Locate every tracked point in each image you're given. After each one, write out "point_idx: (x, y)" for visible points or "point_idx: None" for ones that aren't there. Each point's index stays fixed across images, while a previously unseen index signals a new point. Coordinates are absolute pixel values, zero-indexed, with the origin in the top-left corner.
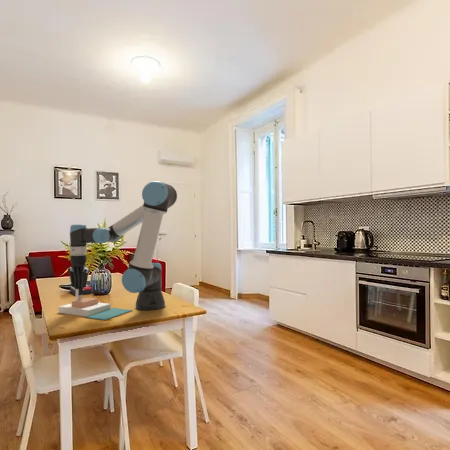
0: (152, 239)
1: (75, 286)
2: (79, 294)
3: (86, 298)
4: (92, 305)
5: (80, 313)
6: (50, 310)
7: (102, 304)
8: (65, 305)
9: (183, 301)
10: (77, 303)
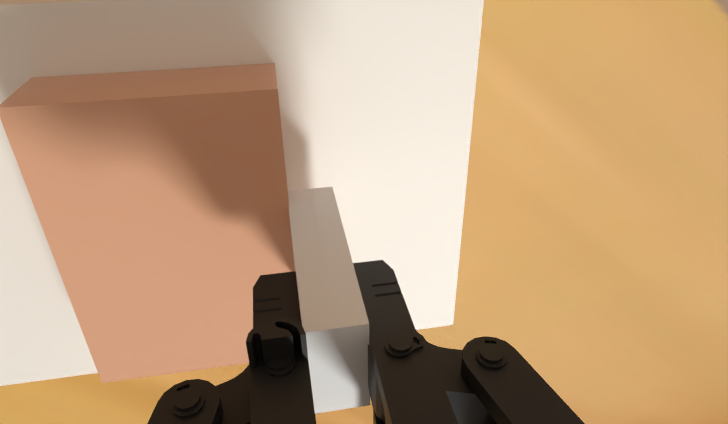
0: None
1: (389, 369)
2: (280, 281)
3: None
4: None
5: None
6: (648, 8)
7: (10, 333)
8: (439, 79)
9: None
10: (129, 92)
